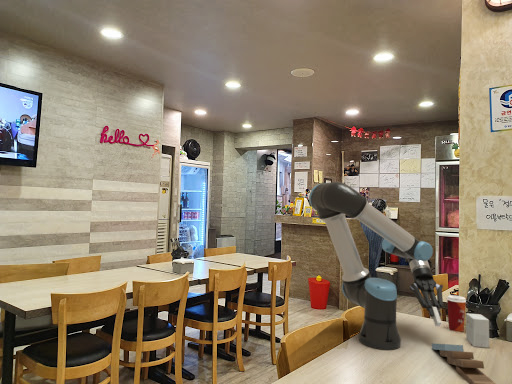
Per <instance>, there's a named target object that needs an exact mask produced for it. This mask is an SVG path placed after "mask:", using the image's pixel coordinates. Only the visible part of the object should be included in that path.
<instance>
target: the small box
mask: <svg viewBox="0 0 512 384" xmlns="http://www.w3.org/2000/svg"><path fill="white" fill-rule="evenodd" d="M465 322H466V323H465V325H466V326H465V329H466V330H465V332H466V333H465V336H466V338H465V339H466V341H467V342H469V344H471V345H472V346H473V347H475V348H476V347H477V348H488V349H489V348H490V320H489V319H488V318H487V317H485V316H484V315H482V314H479V313H466V312H465Z"/></svg>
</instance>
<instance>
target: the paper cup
mask: <svg viewBox="0 0 512 384" xmlns="http://www.w3.org/2000/svg"><path fill="white" fill-rule="evenodd" d="M466 301H467V299H466V297H464V296H460V295H455V294H454V295H453V294H451V295H448V296H447V298H446V302H447V318H448V320H447V322H448V329H449V330H450V331H453V332H457V333H461V332H464V327H465V320H466V305H467V302H466Z"/></svg>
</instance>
